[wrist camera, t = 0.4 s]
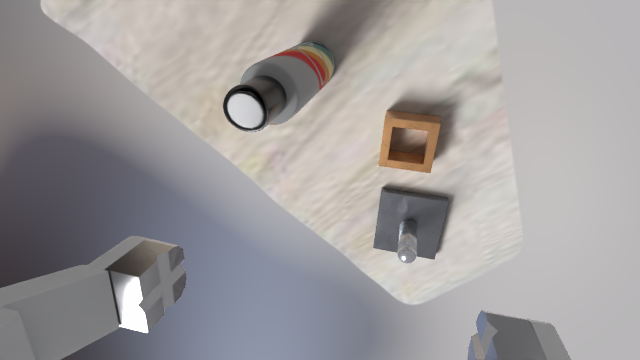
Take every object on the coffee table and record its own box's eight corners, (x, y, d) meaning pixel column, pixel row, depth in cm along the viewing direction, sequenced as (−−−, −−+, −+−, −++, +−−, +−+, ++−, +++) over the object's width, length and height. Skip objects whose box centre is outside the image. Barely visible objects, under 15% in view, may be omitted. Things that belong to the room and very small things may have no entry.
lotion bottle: (333, 38, 41) (271, 71, 24) (337, 86, 44) (284, 146, 27) (288, 42, 43) (201, 76, 26) (295, 88, 46) (219, 146, 29)
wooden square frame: (387, 110, 44) (385, 117, 41) (439, 116, 43) (440, 124, 40) (381, 156, 47) (378, 165, 44) (429, 162, 46) (430, 173, 43)
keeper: (382, 187, 49) (375, 221, 42) (448, 197, 47) (452, 234, 40) (374, 243, 54) (366, 281, 47) (434, 254, 52) (436, 296, 45)
